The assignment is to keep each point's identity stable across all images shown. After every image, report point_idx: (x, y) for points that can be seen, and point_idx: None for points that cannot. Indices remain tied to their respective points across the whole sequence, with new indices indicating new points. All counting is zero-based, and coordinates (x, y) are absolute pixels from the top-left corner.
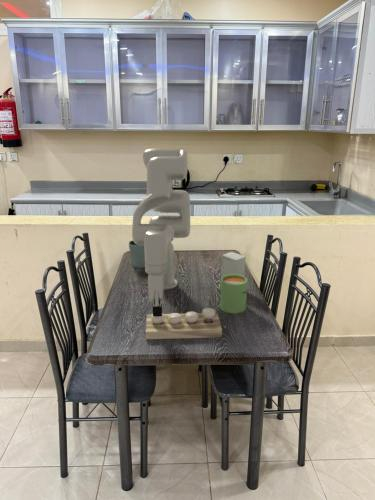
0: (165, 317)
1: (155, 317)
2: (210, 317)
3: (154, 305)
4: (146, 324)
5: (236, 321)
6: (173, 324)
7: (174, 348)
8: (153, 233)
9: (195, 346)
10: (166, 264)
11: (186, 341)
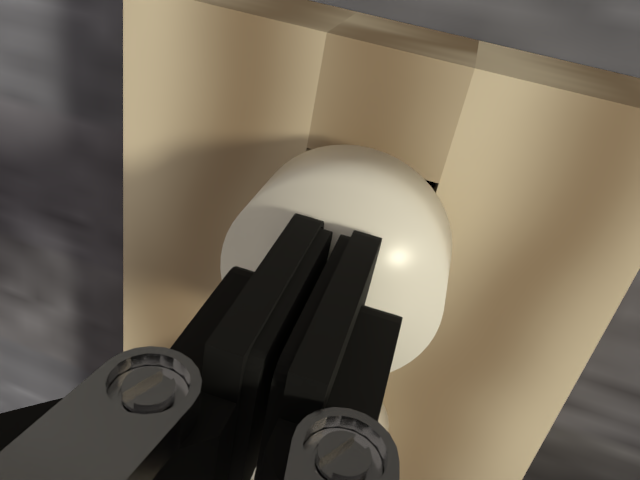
0: (465, 356)
1: (259, 237)
2: None
3: (86, 403)
4: (339, 40)
5: None
6: None
7: (18, 227)
8: None
9: (51, 376)
10: None
11: (120, 349)
